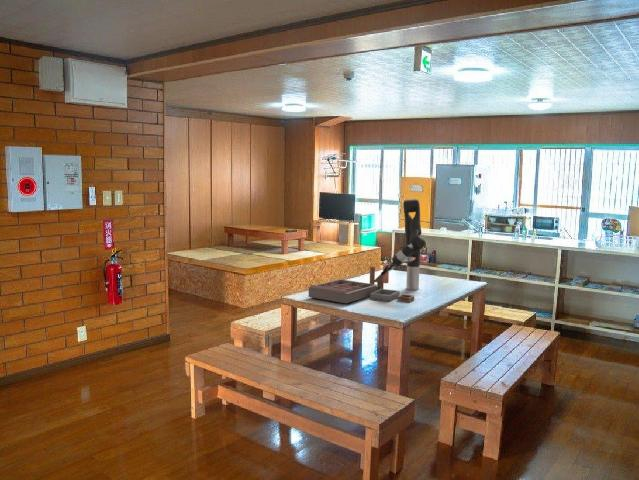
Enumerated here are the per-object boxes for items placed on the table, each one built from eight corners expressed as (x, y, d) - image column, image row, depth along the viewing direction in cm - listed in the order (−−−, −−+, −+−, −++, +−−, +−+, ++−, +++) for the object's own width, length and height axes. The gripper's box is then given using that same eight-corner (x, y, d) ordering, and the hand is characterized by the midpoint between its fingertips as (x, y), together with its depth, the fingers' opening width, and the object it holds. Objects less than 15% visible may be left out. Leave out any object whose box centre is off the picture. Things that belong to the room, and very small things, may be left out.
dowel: (383, 282, 369) (384, 263, 368) (389, 282, 367) (389, 263, 366) (381, 282, 365) (382, 264, 364) (387, 283, 364) (387, 264, 362)
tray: (380, 294, 379) (381, 288, 379) (399, 296, 373) (399, 290, 373) (370, 299, 362) (370, 293, 361) (389, 301, 355) (389, 296, 355)
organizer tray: (377, 295, 375) (378, 282, 374) (346, 305, 343) (346, 290, 341) (340, 290, 393) (340, 276, 392) (306, 298, 361) (307, 284, 360)
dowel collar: (401, 298, 366) (402, 294, 366) (414, 300, 362) (414, 295, 362) (397, 300, 359) (397, 296, 358) (410, 302, 355) (410, 298, 354)
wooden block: (381, 292, 385) (381, 268, 383) (368, 290, 391) (368, 266, 389) (383, 291, 388) (384, 267, 386) (370, 290, 394) (371, 265, 392)
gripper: (400, 252, 367) (383, 268, 374) (393, 254, 354) (375, 271, 361) (407, 260, 365) (390, 276, 372) (400, 263, 352) (382, 279, 359)
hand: (383, 273), depth 366 cm, fingers closed on dowel, 4 cm apart
